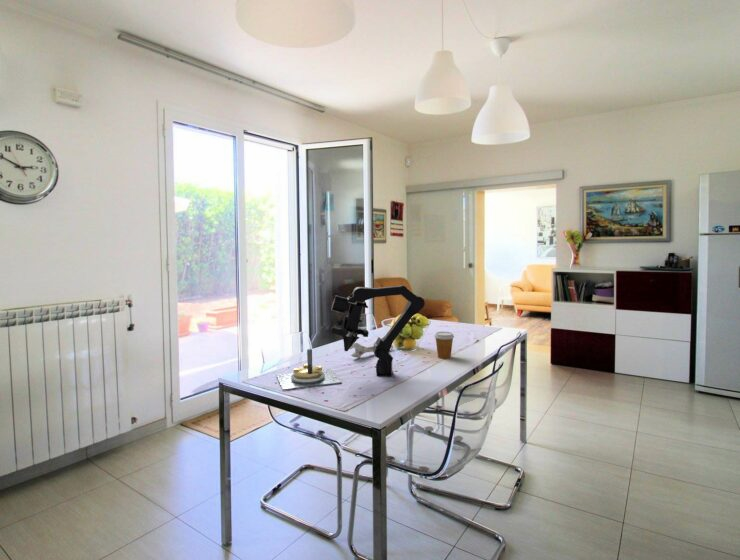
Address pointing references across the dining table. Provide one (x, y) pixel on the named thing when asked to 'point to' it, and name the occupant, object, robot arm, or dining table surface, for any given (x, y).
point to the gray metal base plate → (307, 380)
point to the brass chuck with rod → (308, 369)
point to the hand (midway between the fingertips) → (345, 351)
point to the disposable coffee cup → (444, 344)
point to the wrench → (361, 350)
